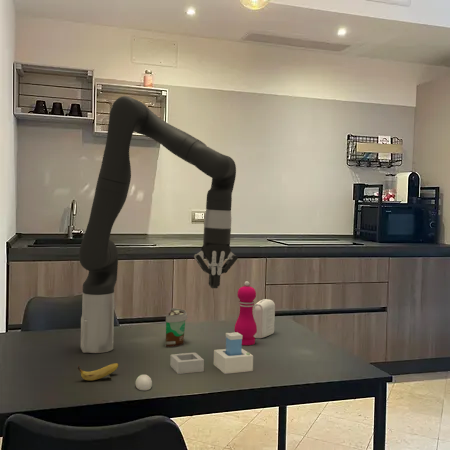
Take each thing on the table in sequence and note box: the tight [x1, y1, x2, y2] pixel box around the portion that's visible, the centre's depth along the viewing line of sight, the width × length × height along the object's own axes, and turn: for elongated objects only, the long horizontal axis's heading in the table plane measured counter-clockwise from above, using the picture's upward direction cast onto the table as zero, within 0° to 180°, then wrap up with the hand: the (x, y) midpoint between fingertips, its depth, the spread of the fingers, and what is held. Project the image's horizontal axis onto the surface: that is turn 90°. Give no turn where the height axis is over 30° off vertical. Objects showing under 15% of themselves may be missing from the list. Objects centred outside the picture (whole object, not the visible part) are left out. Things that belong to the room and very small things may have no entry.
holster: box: [169, 352, 205, 375], centre depth 140 cm, size 7×7×4 cm
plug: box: [225, 331, 243, 356], centre depth 142 cm, size 3×3×9 cm
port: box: [213, 348, 254, 375], centre depth 142 cm, size 8×8×5 cm
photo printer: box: [253, 298, 276, 339], centre depth 181 cm, size 10×4×12 cm, turn 148°
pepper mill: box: [234, 280, 257, 346], centre depth 170 cm, size 7×7×20 cm
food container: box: [165, 307, 189, 348], centre depth 168 cm, size 12×6×10 cm, turn 179°
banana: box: [77, 362, 120, 381], centre depth 132 cm, size 10×2×4 cm, turn 108°
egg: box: [135, 374, 153, 391], centre depth 126 cm, size 4×6×4 cm, turn 16°
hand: (214, 287), depth 148 cm, fingers closed
